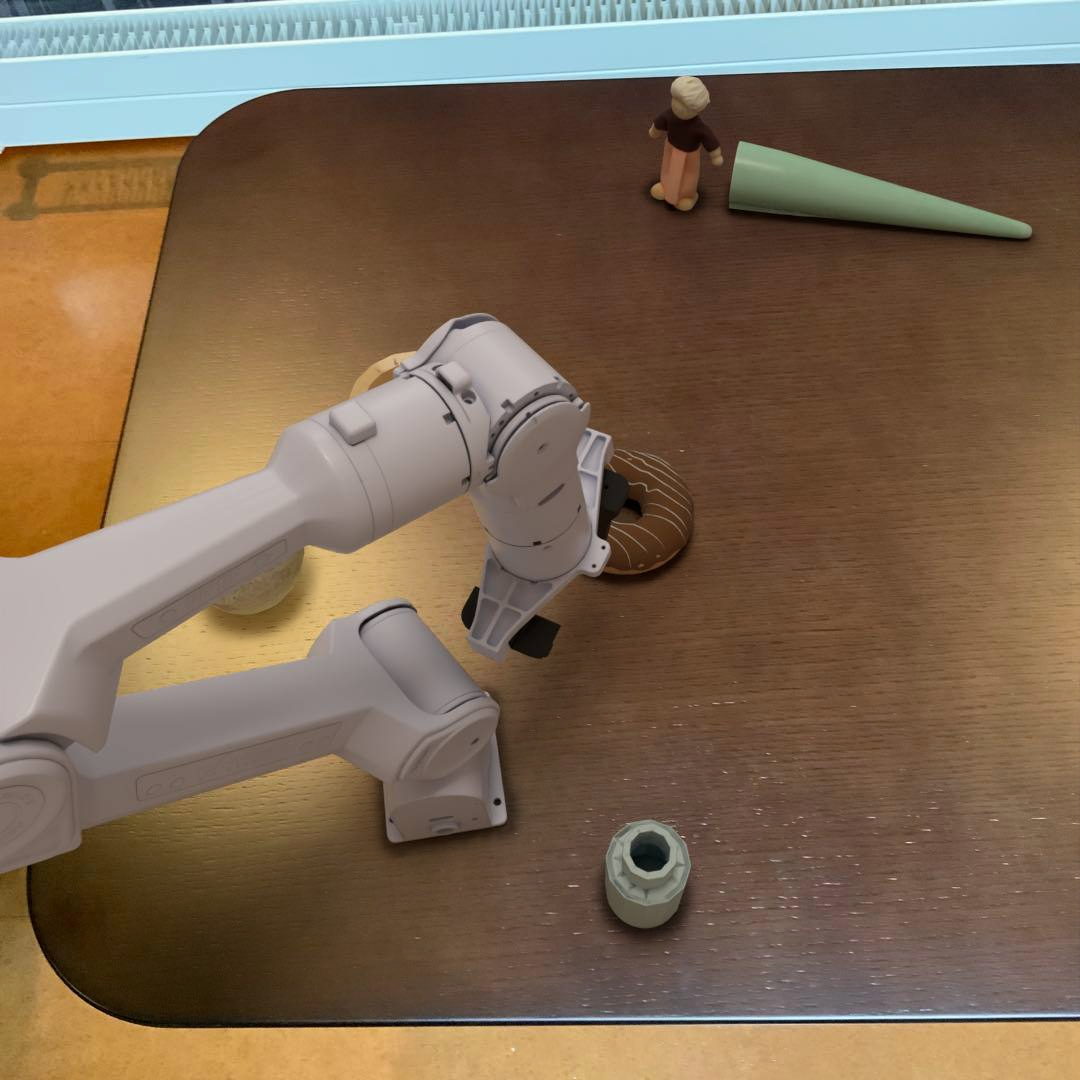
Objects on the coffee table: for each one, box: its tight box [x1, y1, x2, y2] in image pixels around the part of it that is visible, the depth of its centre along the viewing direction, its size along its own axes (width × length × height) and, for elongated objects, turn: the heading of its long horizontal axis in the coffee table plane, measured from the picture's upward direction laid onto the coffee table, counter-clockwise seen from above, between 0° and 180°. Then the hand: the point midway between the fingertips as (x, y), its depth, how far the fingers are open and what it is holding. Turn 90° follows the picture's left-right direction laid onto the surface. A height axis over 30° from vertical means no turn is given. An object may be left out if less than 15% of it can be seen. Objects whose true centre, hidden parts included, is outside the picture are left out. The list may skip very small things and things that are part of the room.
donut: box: [602, 448, 695, 575], centre depth 79 cm, size 11×11×4 cm
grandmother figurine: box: [648, 75, 724, 212], centre depth 93 cm, size 8×4×13 cm, turn 62°
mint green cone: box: [728, 140, 1033, 240], centre depth 94 cm, size 5×6×27 cm
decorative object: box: [211, 547, 305, 616], centre depth 76 cm, size 9×9×10 cm
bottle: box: [604, 819, 692, 929], centre depth 63 cm, size 5×5×10 cm
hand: (562, 595), depth 67 cm, fingers open, 7 cm apart
